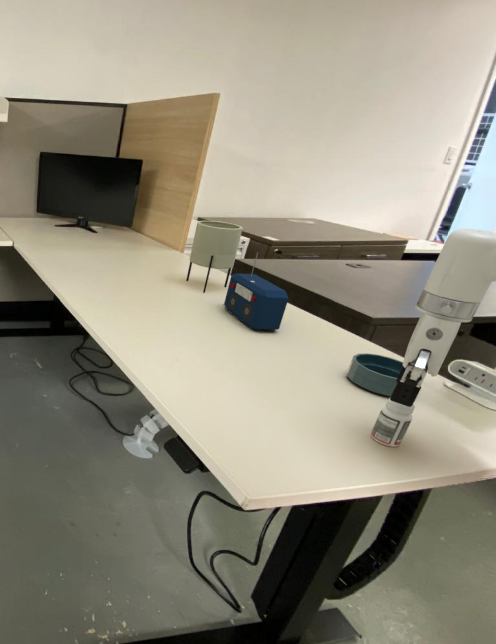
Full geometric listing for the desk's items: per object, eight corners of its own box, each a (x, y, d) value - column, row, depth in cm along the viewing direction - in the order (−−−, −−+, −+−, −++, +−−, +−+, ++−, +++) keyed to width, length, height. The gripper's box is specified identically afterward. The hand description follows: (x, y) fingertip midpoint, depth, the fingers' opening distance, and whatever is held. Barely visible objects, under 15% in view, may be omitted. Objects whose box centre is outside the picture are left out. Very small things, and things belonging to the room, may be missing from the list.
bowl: (427, 397, 105) (436, 378, 103) (380, 401, 102) (389, 381, 100) (376, 370, 117) (384, 352, 115) (333, 372, 114) (340, 354, 112)
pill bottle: (391, 434, 91) (409, 397, 87) (404, 449, 86) (423, 411, 83) (365, 430, 91) (381, 393, 88) (377, 445, 87) (394, 407, 83)
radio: (219, 307, 153) (234, 247, 145) (244, 307, 154) (260, 248, 146) (252, 332, 135) (271, 265, 126) (280, 333, 136) (301, 266, 127)
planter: (236, 293, 168) (253, 229, 159) (195, 293, 166) (210, 228, 156) (215, 281, 182) (230, 221, 172) (177, 280, 179) (190, 219, 170)
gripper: (475, 325, 69) (425, 420, 76) (475, 301, 81) (431, 386, 89) (414, 310, 74) (371, 402, 81) (422, 289, 86) (384, 371, 93)
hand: (403, 393), depth 85 cm, fingers open, 9 cm apart
